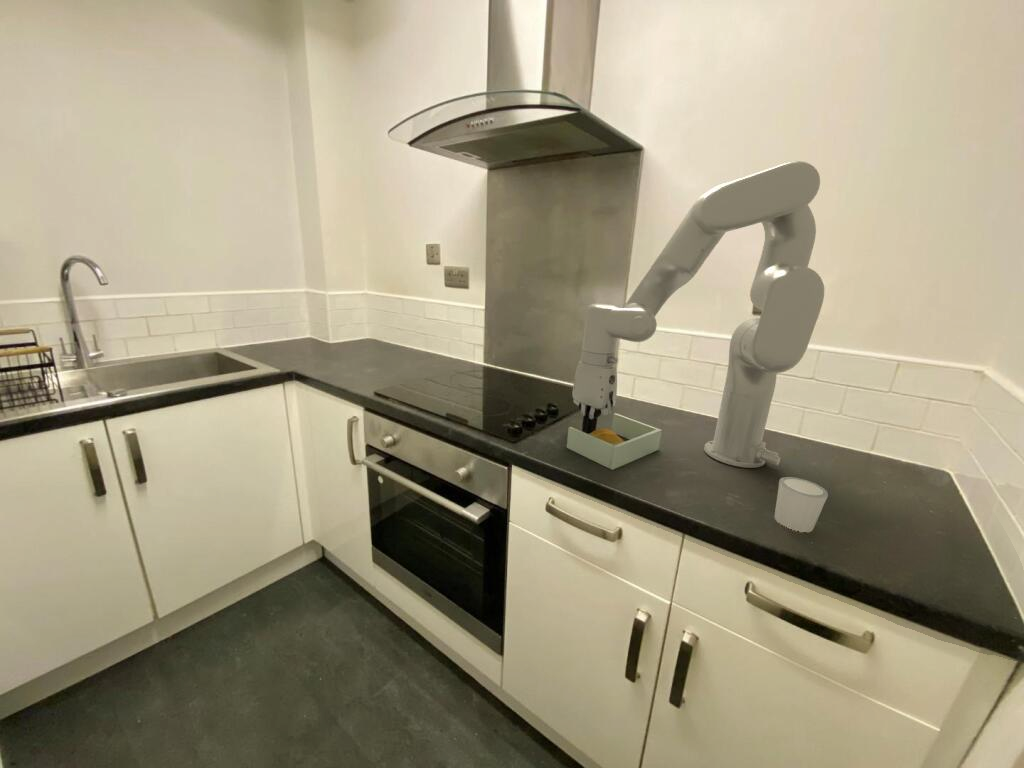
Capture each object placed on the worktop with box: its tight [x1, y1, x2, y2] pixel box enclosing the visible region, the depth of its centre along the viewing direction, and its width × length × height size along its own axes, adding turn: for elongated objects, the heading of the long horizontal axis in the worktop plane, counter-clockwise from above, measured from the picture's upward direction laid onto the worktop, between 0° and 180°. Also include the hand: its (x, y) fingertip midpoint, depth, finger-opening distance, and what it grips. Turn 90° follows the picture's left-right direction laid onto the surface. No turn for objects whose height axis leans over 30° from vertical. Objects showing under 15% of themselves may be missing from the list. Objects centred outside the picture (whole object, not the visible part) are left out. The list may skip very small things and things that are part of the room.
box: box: [566, 412, 662, 471], centre depth 96 cm, size 13×18×5 cm
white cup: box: [774, 476, 829, 533], centre depth 71 cm, size 7×7×7 cm
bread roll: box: [589, 428, 625, 446], centre depth 97 cm, size 8×9×4 cm
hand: (588, 431), depth 102 cm, fingers closed
